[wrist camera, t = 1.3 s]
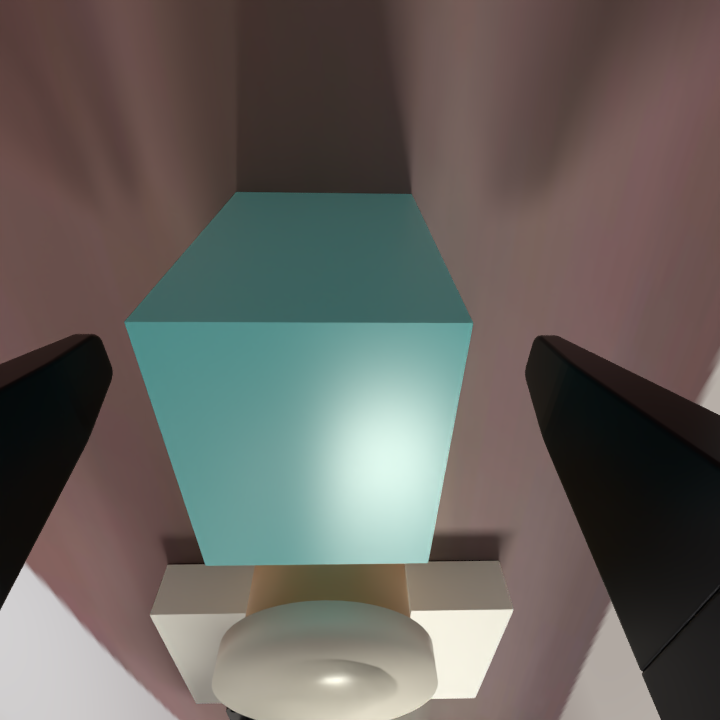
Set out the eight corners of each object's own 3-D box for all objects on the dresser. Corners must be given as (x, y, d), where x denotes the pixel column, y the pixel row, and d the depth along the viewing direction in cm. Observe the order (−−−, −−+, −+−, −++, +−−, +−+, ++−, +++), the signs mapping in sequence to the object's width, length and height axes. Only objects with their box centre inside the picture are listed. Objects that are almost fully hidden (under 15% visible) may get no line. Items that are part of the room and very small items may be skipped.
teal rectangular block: (397, 369, 13) (428, 563, 8) (261, 369, 13) (205, 566, 8) (411, 193, 10) (473, 322, 5) (236, 191, 10) (124, 322, 5)
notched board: (466, 653, 24) (475, 697, 22) (207, 658, 23) (196, 703, 22) (498, 560, 19) (513, 609, 17) (167, 564, 18) (149, 615, 17)
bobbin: (403, 538, 17) (425, 726, 13) (264, 539, 17) (230, 730, 12) (416, 437, 14) (452, 636, 9) (245, 438, 14) (190, 641, 9)
